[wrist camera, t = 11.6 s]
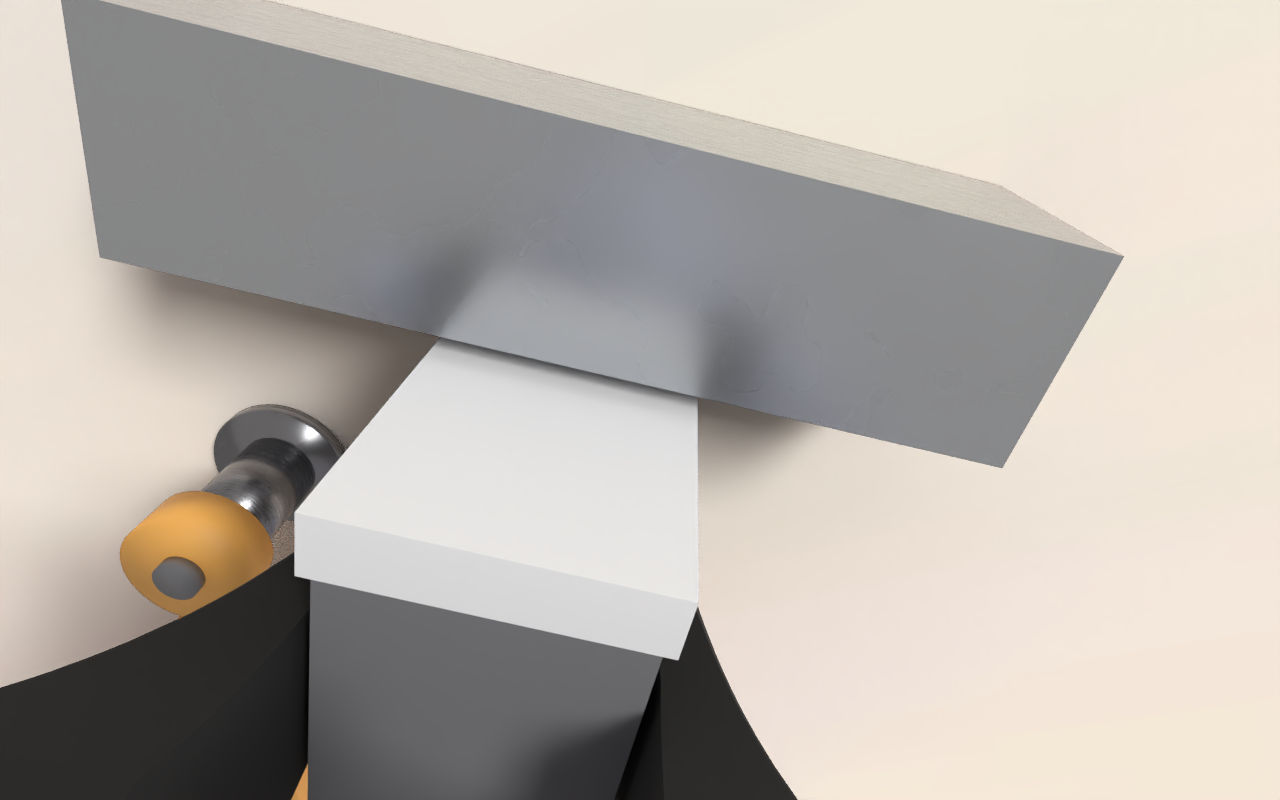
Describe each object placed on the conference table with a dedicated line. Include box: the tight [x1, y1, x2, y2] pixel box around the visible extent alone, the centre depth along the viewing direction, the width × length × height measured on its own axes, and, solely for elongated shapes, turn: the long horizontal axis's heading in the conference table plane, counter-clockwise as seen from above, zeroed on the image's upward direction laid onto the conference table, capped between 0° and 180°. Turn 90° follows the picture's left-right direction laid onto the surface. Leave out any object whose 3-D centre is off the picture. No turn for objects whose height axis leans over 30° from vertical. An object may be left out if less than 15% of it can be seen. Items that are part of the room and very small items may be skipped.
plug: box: [294, 337, 699, 800], centre depth 13 cm, size 9×5×6 cm, turn 167°
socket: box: [61, 0, 1124, 468], centre depth 14 cm, size 4×16×5 cm, turn 77°
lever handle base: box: [202, 404, 345, 539], centre depth 19 cm, size 4×4×3 cm
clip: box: [120, 491, 308, 800], centre depth 20 cm, size 3×18×2 cm, turn 1°
